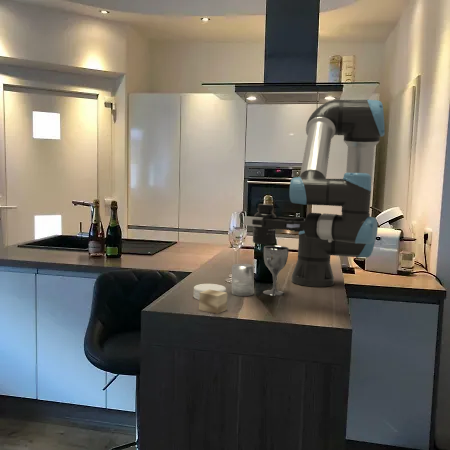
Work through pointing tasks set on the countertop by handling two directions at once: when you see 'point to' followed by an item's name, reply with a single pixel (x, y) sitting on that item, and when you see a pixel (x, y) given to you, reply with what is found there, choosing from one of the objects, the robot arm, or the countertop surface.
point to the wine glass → (275, 264)
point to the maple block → (213, 301)
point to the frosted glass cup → (242, 279)
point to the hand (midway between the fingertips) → (250, 220)
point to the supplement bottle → (264, 234)
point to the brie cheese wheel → (205, 287)
